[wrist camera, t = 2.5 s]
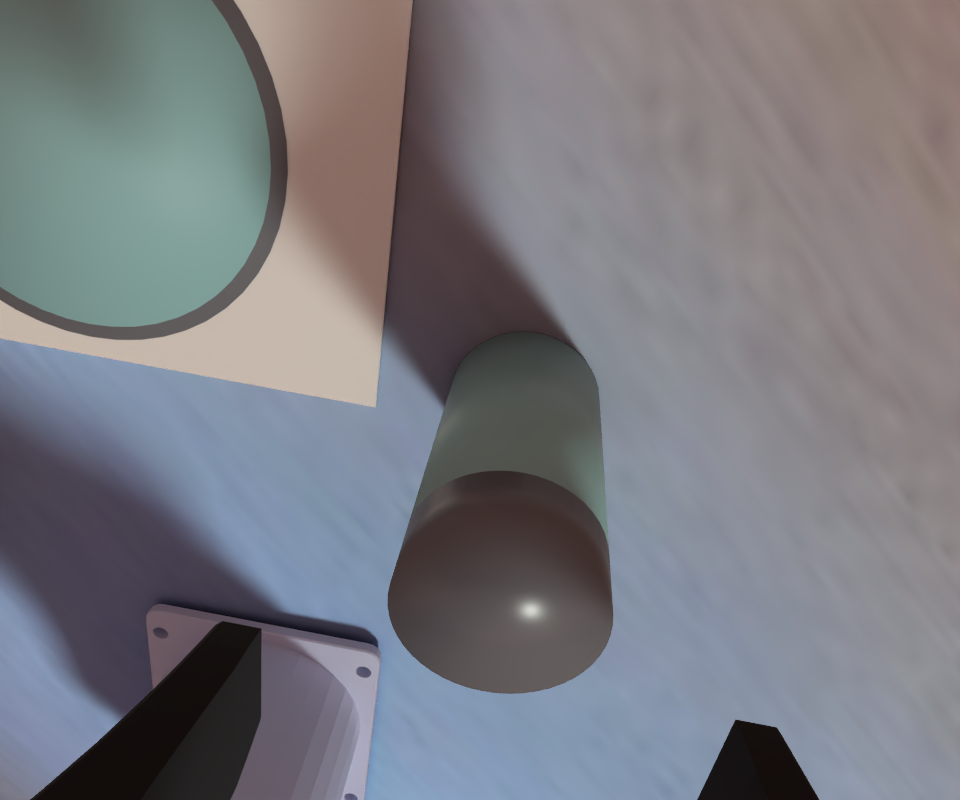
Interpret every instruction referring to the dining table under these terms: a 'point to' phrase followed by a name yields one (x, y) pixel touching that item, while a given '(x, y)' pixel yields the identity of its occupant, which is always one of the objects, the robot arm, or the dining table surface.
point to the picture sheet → (203, 184)
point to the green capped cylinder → (510, 525)
